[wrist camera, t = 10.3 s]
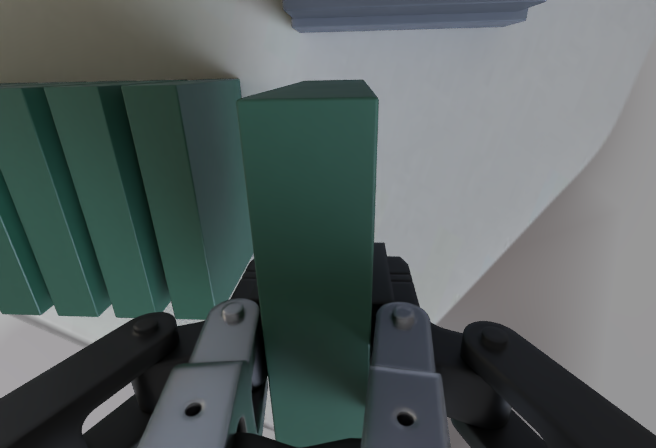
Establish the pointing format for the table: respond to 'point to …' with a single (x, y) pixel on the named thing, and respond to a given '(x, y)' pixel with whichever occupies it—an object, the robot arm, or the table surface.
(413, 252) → the table surface
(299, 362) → the green book
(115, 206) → the green book row
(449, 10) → the grey books
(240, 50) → the table surface
